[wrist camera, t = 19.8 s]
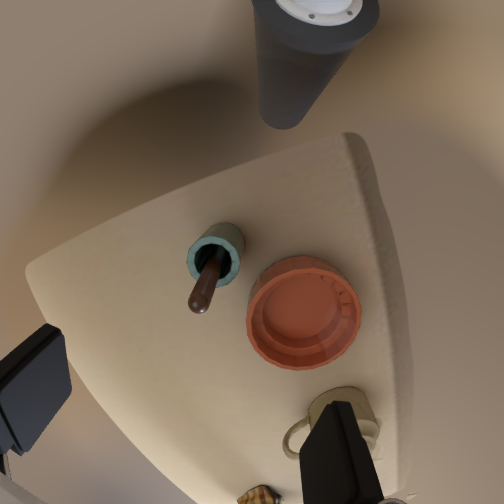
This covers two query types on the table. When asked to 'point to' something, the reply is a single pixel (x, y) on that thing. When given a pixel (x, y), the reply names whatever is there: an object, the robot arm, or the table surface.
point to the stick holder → (204, 245)
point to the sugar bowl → (349, 394)
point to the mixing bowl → (302, 313)
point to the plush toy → (260, 496)
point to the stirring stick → (207, 281)
